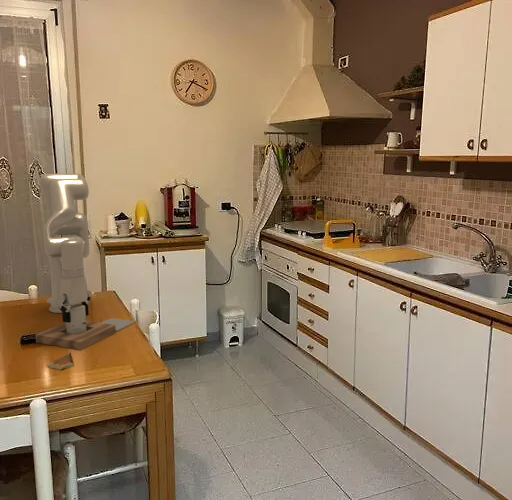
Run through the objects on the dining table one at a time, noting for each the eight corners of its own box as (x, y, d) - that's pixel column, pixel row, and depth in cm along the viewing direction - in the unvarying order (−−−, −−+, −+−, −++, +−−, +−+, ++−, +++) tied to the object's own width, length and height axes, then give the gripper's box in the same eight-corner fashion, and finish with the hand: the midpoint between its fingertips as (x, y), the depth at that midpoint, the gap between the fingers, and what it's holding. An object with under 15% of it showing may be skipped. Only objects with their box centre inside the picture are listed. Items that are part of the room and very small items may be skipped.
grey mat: (92, 327, 205) (92, 326, 205) (111, 319, 216) (111, 318, 216) (117, 331, 201) (117, 330, 201) (135, 322, 212) (135, 321, 212)
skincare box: (71, 340, 191) (69, 309, 189) (66, 337, 194) (64, 306, 192) (87, 336, 195) (85, 305, 193) (82, 334, 198) (80, 303, 196)
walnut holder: (36, 342, 189) (35, 334, 189) (74, 326, 207) (73, 318, 207) (80, 350, 182) (79, 341, 181) (115, 332, 200) (115, 325, 200)
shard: (70, 356, 177) (70, 351, 177) (88, 360, 174) (88, 355, 174) (46, 368, 167) (45, 363, 167) (64, 372, 164) (63, 366, 164)
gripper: (81, 268, 199) (83, 311, 202) (47, 277, 184) (51, 324, 186) (97, 269, 197) (99, 313, 199) (64, 278, 181) (67, 326, 184)
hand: (76, 318), depth 193 cm, fingers open, 9 cm apart
